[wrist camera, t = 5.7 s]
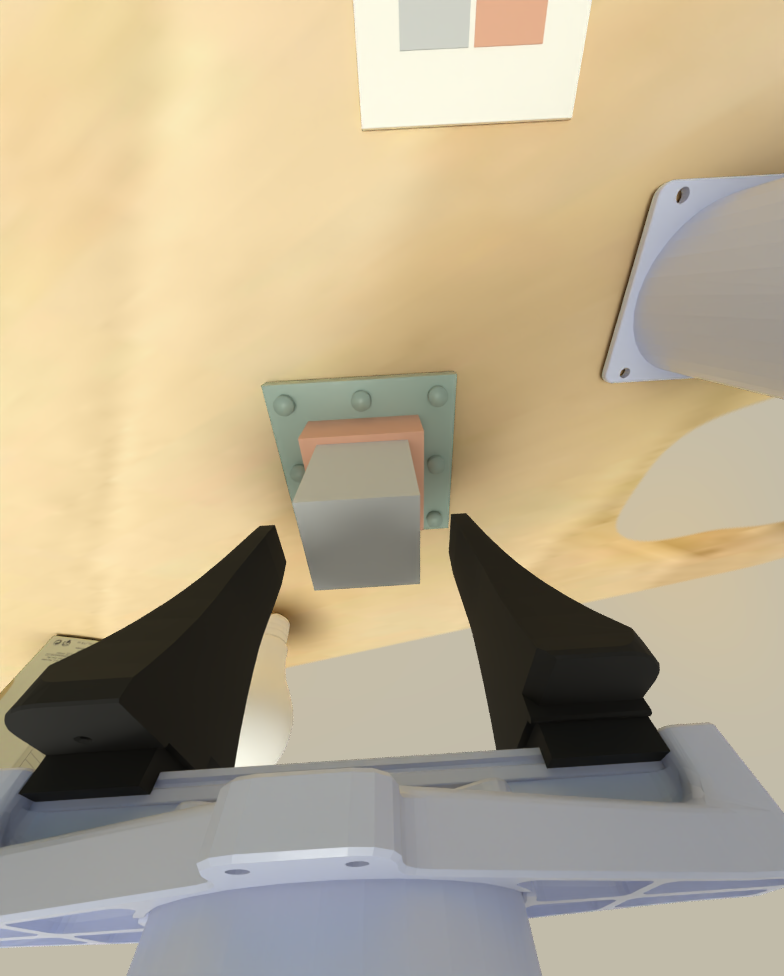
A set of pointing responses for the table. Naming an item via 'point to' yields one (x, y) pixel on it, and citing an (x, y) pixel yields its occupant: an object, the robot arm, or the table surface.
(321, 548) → the grey brick
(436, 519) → the build plate
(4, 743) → the skincare box
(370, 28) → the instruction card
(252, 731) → the lightbulb
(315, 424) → the base brick
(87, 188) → the table surface
